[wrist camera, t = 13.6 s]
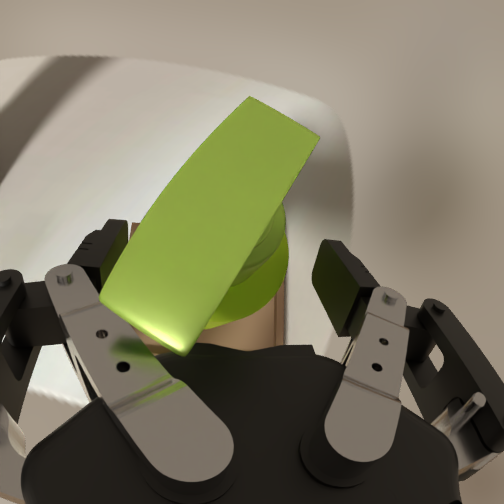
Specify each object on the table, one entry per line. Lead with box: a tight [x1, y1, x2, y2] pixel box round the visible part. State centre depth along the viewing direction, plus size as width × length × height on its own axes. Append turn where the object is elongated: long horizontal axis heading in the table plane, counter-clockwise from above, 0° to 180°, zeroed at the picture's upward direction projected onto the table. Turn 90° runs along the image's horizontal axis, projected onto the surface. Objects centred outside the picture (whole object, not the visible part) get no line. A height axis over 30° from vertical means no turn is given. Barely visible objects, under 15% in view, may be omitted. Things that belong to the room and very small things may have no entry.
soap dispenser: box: [99, 96, 320, 357], centre depth 15 cm, size 6×7×20 cm
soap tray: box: [129, 222, 284, 356], centre depth 25 cm, size 13×11×2 cm
